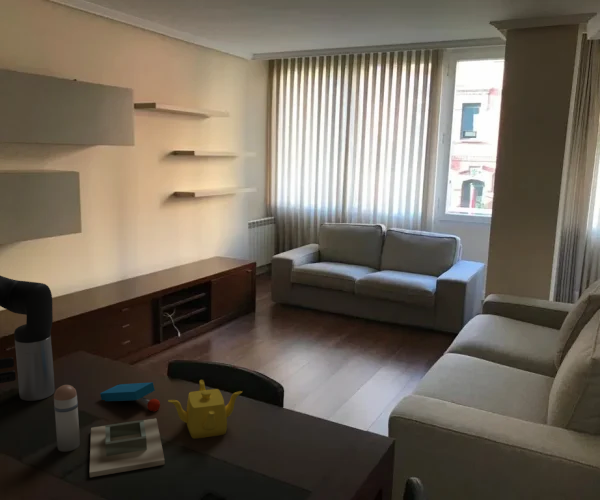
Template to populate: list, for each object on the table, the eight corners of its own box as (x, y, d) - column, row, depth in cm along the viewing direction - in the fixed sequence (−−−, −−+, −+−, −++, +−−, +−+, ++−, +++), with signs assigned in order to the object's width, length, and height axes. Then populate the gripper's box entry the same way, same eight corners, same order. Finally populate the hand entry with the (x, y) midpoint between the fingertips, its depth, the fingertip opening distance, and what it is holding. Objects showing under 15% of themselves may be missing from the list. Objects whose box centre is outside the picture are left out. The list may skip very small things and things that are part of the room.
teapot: (212, 447, 132) (212, 410, 130) (166, 433, 138) (165, 397, 136) (244, 421, 145) (244, 387, 143) (201, 408, 151) (200, 376, 149)
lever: (105, 417, 155) (150, 416, 146) (99, 393, 155) (144, 391, 146) (124, 407, 161) (168, 405, 152) (118, 384, 161) (162, 381, 152)
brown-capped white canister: (57, 442, 133) (53, 382, 130) (80, 438, 135) (77, 379, 132) (56, 453, 128) (51, 391, 125) (80, 449, 130) (76, 389, 127)
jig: (91, 432, 138) (90, 416, 137) (156, 422, 143) (156, 407, 142) (89, 477, 119) (88, 460, 119) (164, 464, 125) (164, 447, 124)
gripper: (-77, 377, 109) (15, 363, 117) (-71, 354, 121) (11, 342, 129) (-73, 412, 110) (17, 396, 118) (-68, 385, 122) (14, 372, 130)
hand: (14, 368), depth 123 cm, fingers open, 8 cm apart
